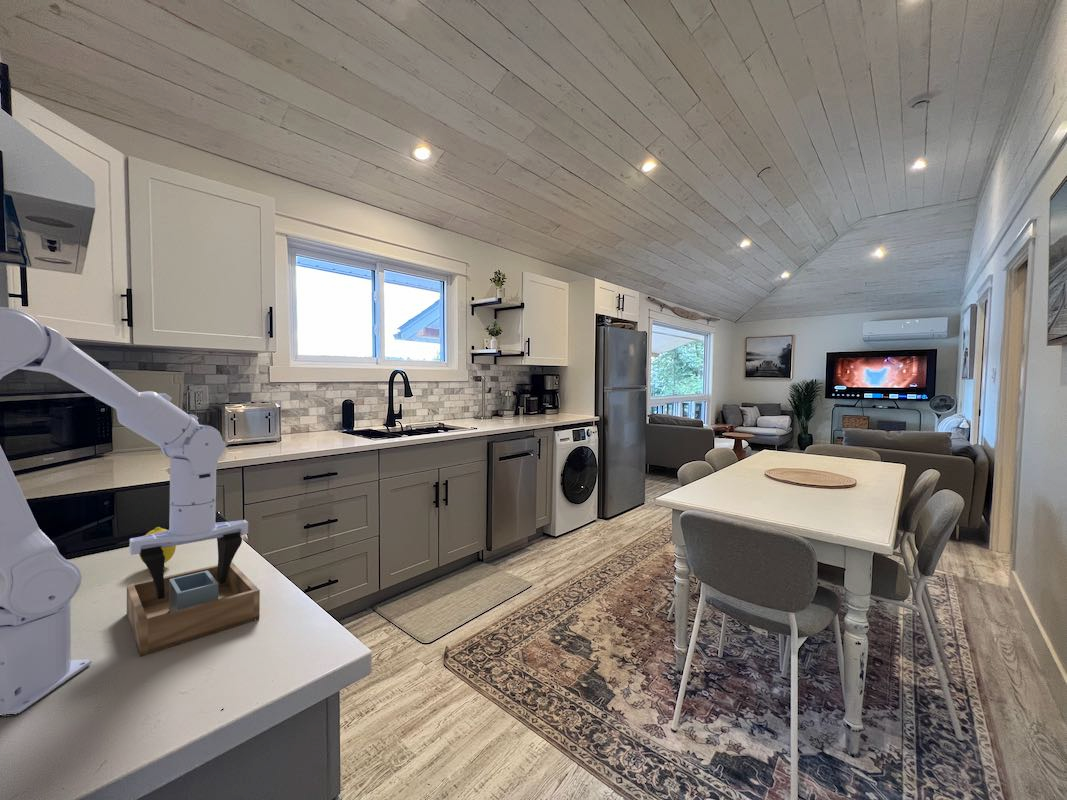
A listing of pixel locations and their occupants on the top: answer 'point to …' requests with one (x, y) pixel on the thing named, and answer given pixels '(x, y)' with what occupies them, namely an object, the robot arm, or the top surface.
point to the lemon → (167, 551)
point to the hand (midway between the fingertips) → (192, 588)
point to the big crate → (189, 611)
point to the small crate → (192, 590)
